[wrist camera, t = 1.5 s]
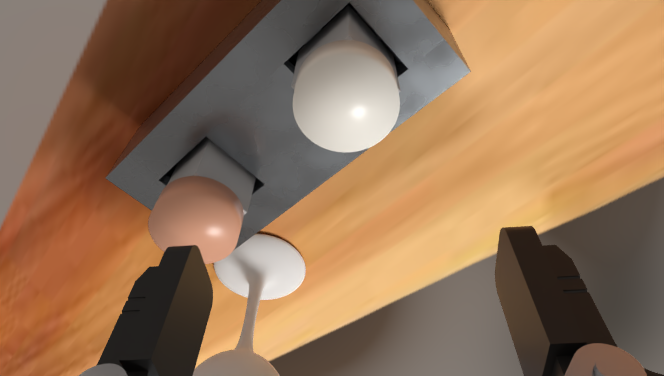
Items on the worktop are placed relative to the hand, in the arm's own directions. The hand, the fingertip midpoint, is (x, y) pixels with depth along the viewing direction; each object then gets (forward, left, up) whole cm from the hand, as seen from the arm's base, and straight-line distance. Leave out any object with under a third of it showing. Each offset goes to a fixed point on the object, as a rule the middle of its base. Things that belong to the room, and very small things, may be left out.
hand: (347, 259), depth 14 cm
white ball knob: (-1, +1, -19) cm, 19 cm away
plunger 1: (-1, +13, -19) cm, 23 cm away
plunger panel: (-1, +7, -24) cm, 25 cm away
